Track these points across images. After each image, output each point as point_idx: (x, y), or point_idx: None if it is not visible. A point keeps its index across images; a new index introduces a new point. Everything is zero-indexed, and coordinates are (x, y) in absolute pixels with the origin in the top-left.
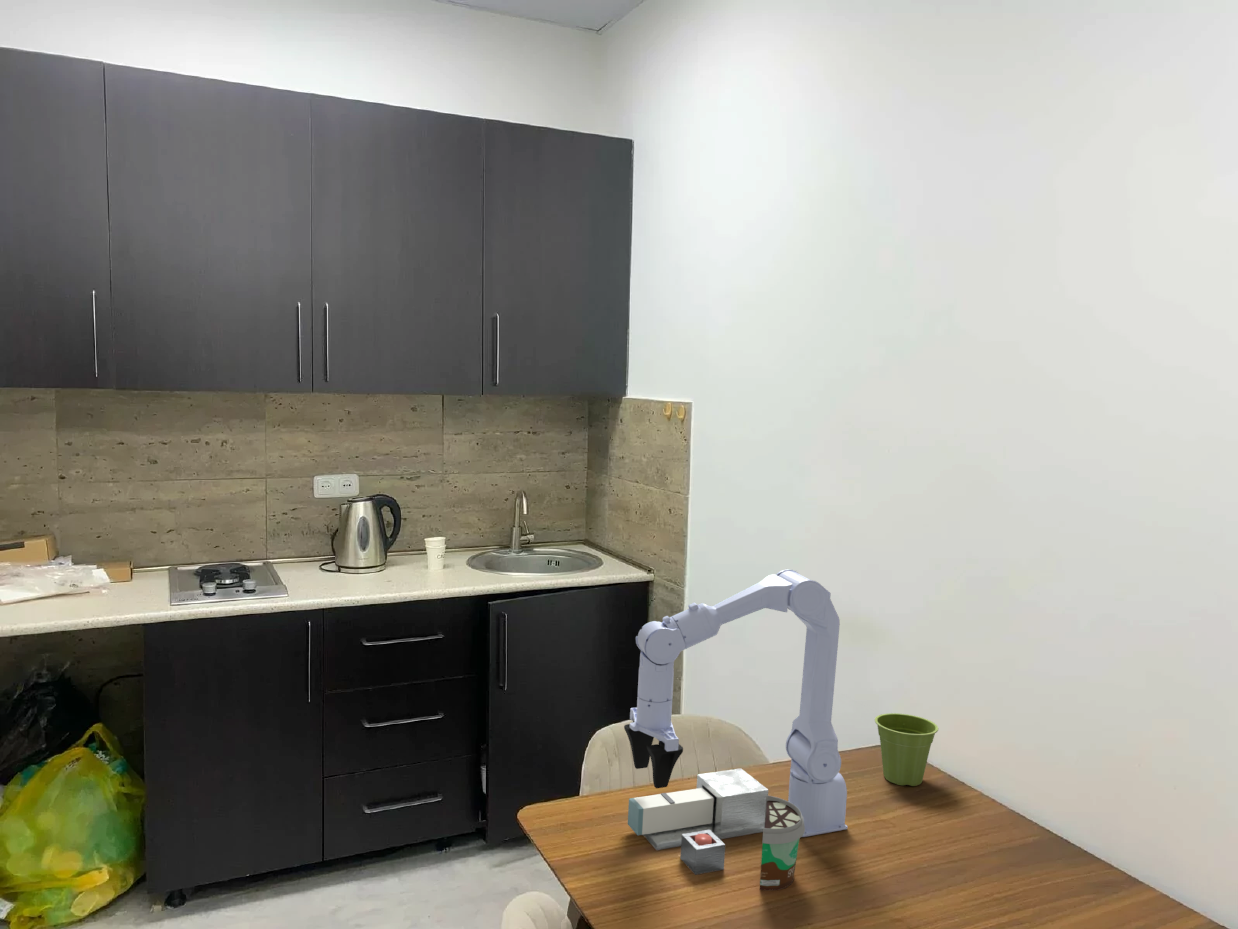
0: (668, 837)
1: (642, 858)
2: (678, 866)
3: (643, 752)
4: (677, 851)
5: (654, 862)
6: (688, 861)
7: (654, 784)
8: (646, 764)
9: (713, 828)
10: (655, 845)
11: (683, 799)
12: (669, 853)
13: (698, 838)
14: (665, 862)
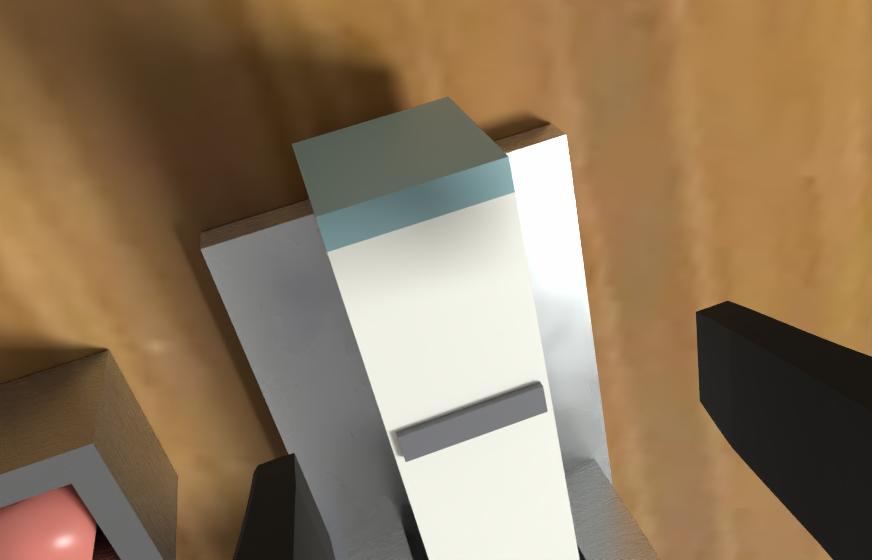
0: (288, 320)
1: (92, 138)
2: (17, 333)
3: (806, 465)
4: (197, 340)
5: (47, 206)
6: (1, 402)
7: (275, 475)
8: (718, 412)
9: (381, 523)
10: (215, 237)
11: (453, 502)
12: (171, 299)
13: (17, 536)
14: (57, 269)
